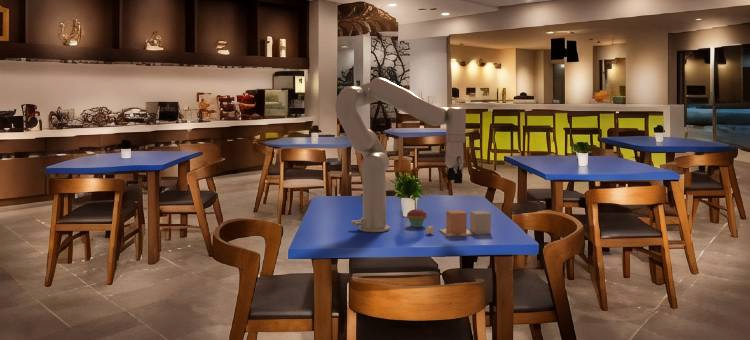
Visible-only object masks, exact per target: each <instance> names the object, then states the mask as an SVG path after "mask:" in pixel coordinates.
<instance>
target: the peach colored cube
mask: <svg viewBox="0 0 750 340" xmlns="http://www.w3.org/2000/svg"><path fill="white" fill-rule="evenodd" d="M445 214H446V215H445V221H446V222H445V229H446V230H447V231H448V232H449V233H466V229H467V227H468V226H467V225H468V224H467V220H468V219H467V215H468V214H467V211H466V212H465V211H463V210H462V209H459V210H456V209H455V210H446V212H445Z"/></svg>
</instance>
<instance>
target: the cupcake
mask: <svg viewBox="0 0 750 340" xmlns="http://www.w3.org/2000/svg"><path fill="white" fill-rule="evenodd" d="M427 217H428V214H427V213H426V211H424V210H423V209H417V199H416V198H414V209H412V210H409V211H408V212H407V214H406V218H407V219H408V221H409V223H410V227H413V228H420V227H423V224H424V221H425V219H427Z"/></svg>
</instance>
